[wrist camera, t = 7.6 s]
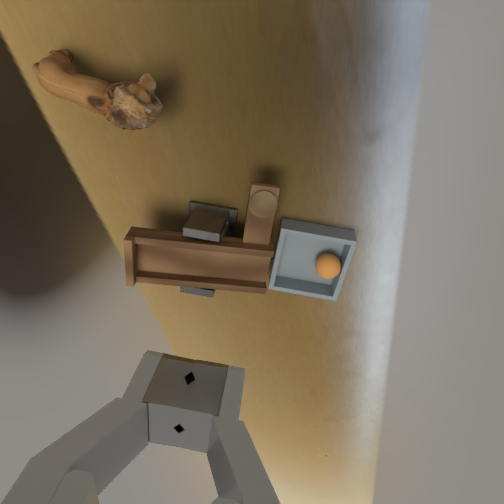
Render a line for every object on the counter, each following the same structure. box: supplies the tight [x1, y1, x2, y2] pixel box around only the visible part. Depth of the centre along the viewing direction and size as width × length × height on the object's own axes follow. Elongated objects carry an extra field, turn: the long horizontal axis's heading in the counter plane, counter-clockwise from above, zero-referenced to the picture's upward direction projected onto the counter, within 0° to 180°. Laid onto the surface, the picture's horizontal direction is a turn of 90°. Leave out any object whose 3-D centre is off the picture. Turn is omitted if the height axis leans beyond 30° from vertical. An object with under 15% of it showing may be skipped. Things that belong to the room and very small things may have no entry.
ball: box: [315, 253, 341, 279], centre depth 41 cm, size 3×3×3 cm
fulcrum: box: [180, 201, 238, 297], centre depth 40 cm, size 9×6×7 cm, turn 172°
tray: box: [268, 218, 358, 301], centre depth 42 cm, size 9×9×3 cm
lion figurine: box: [32, 50, 163, 130], centre depth 31 cm, size 15×5×9 cm, turn 80°
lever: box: [124, 182, 280, 294], centre depth 36 cm, size 13×16×3 cm
